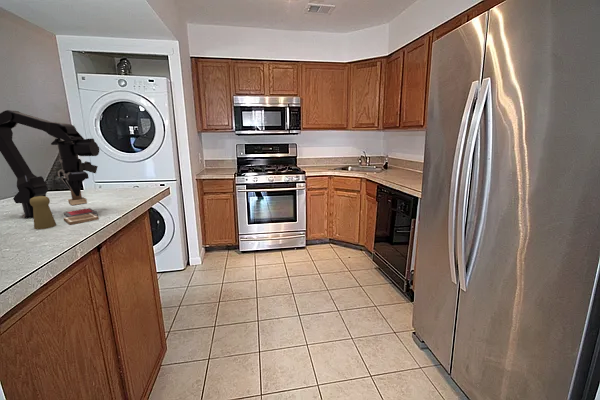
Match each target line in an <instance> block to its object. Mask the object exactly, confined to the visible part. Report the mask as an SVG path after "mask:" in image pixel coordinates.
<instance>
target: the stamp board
mask: <svg viewBox="0 0 600 400" xmlns="http://www.w3.org/2000/svg"><path fill="white" fill-rule="evenodd" d="M99 219H100V217H99V216H98V215H97V214H92V213H89V214H84V215H78V216H73V217H63V221H64V223H66V224H68V225H69V226H72V225H77V224H83V223H87V222H93V221H97V220H99Z"/></svg>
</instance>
